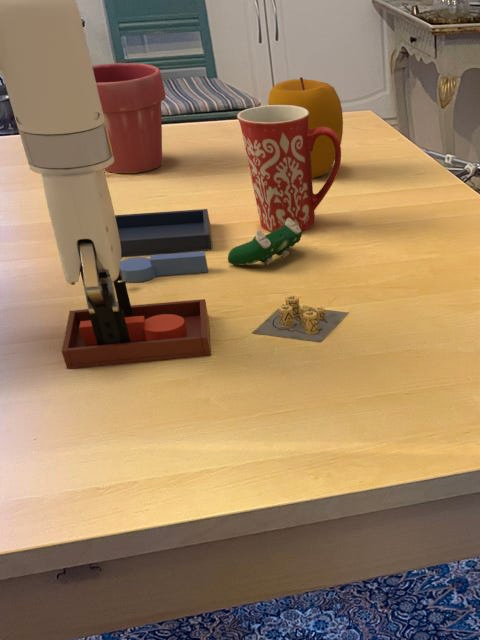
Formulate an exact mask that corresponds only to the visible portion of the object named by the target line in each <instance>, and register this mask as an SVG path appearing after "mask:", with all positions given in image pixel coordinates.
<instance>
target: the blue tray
mask: <svg viewBox="0 0 480 640" xmlns="http://www.w3.org/2000/svg"><path fill="white" fill-rule="evenodd" d="M115 218H116V223H117V227H118V233H119V238H120V244H121V258H123V257H134V256H135V257H136V256H146V255H147V256H148V255H162V254H175V253H188V252H201V251H212V250H213V244H212V233H211V232H212V231H211V221H210V216H209V211H208V208H202V209H199V208H198V209H185V210H172V211H158V212H142V213H129V214H128V213H127V214H115Z"/></svg>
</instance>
